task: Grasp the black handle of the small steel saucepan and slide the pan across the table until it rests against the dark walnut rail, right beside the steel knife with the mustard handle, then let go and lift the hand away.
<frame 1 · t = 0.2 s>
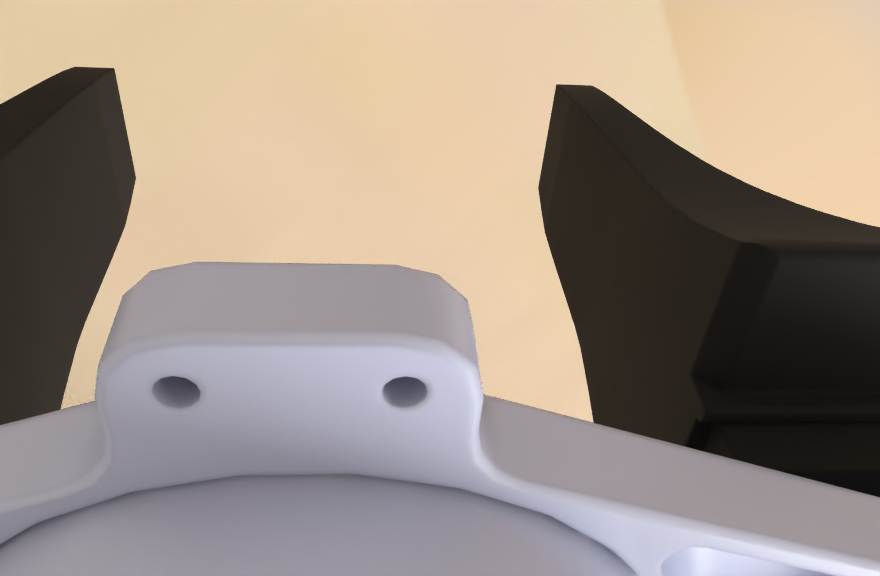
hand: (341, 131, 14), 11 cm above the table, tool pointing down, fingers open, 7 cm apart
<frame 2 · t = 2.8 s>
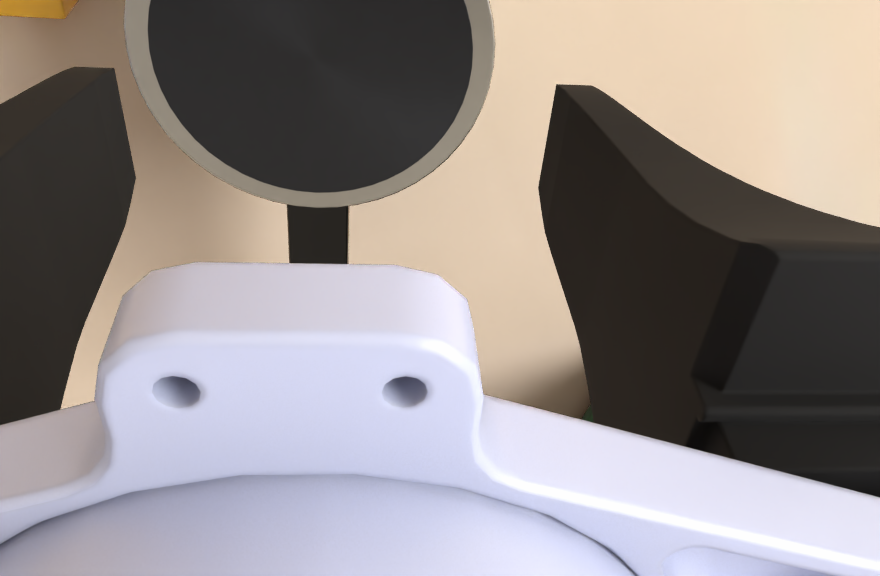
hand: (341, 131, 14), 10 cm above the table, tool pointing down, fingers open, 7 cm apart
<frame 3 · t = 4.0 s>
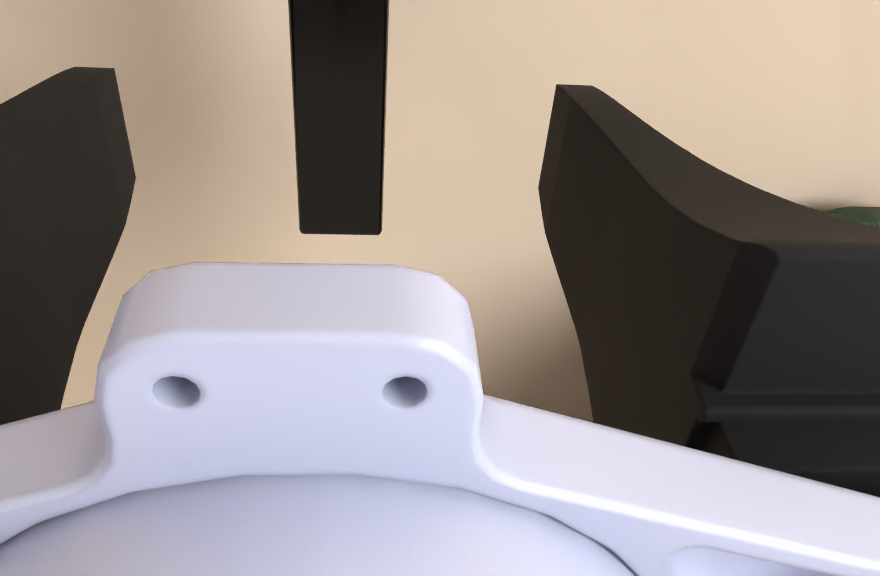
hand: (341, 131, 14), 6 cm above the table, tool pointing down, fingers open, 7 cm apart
coffee jar: (803, 318, 25), on the table
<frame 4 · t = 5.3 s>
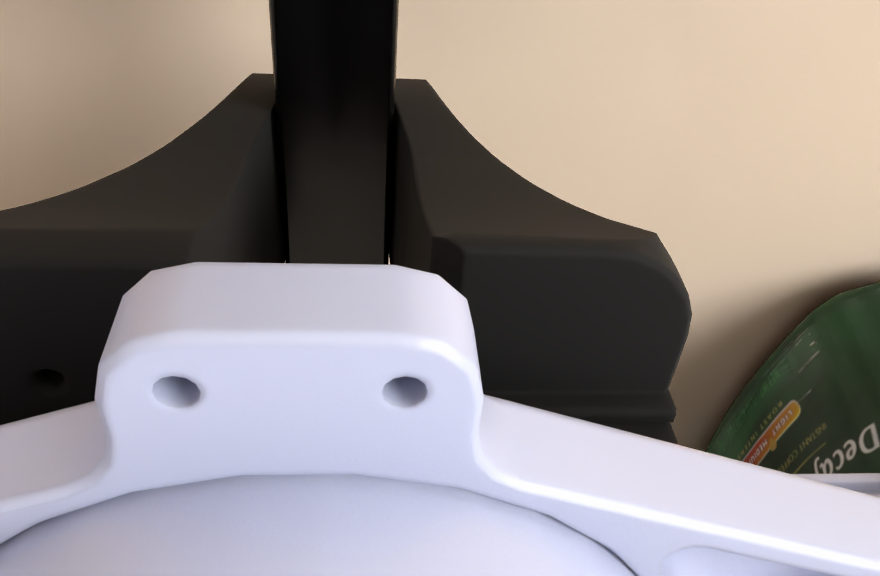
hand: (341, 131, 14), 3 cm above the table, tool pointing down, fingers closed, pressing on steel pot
coffee jar: (846, 388, 23), on the table
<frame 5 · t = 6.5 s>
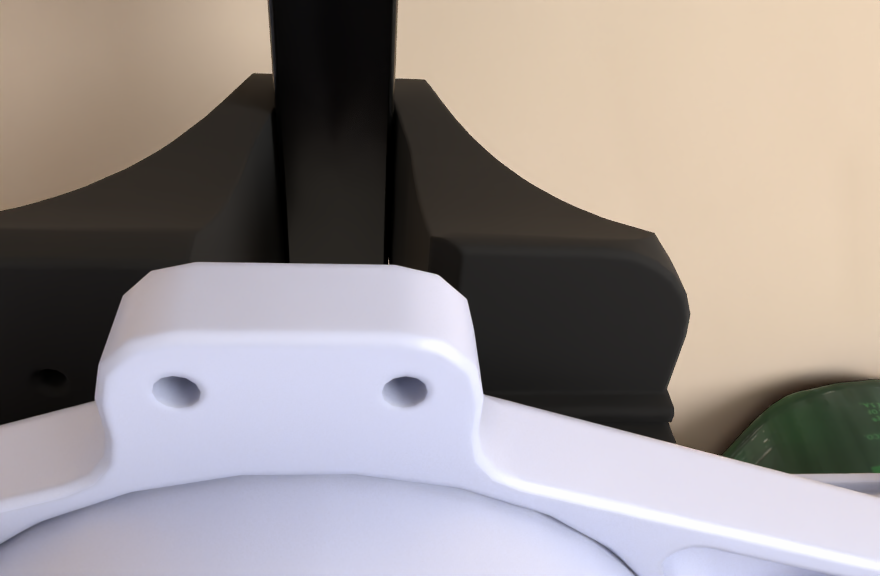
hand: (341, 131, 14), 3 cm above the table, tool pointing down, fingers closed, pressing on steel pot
coffee jar: (804, 467, 26), on the table
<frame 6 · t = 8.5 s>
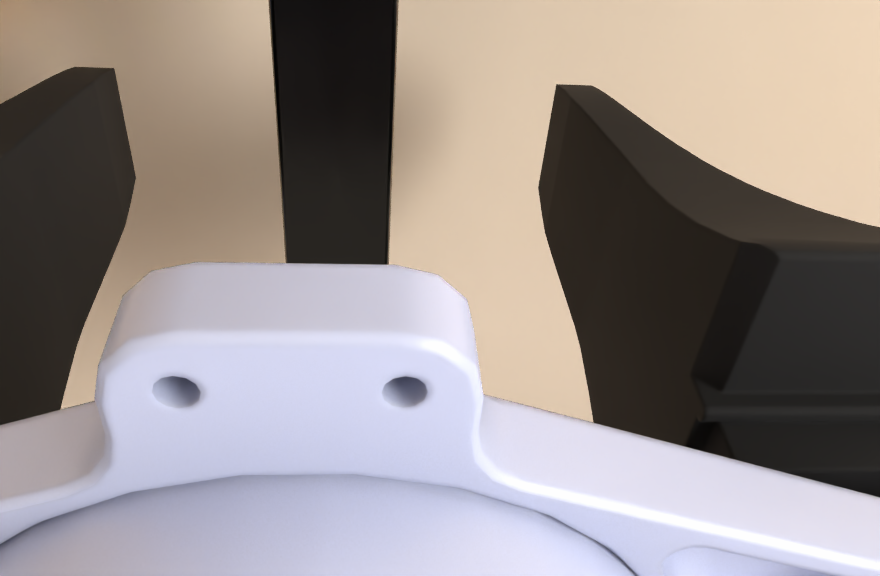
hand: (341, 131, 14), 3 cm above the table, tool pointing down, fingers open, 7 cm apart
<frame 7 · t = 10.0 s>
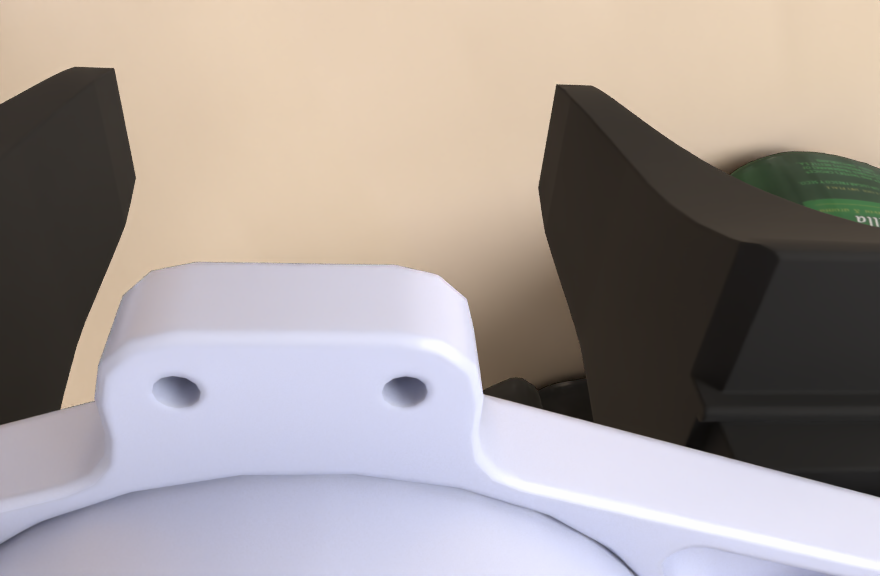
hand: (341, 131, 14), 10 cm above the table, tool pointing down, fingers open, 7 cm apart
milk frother: (488, 460, 37), on the table
coffee jar: (757, 253, 30), on the table
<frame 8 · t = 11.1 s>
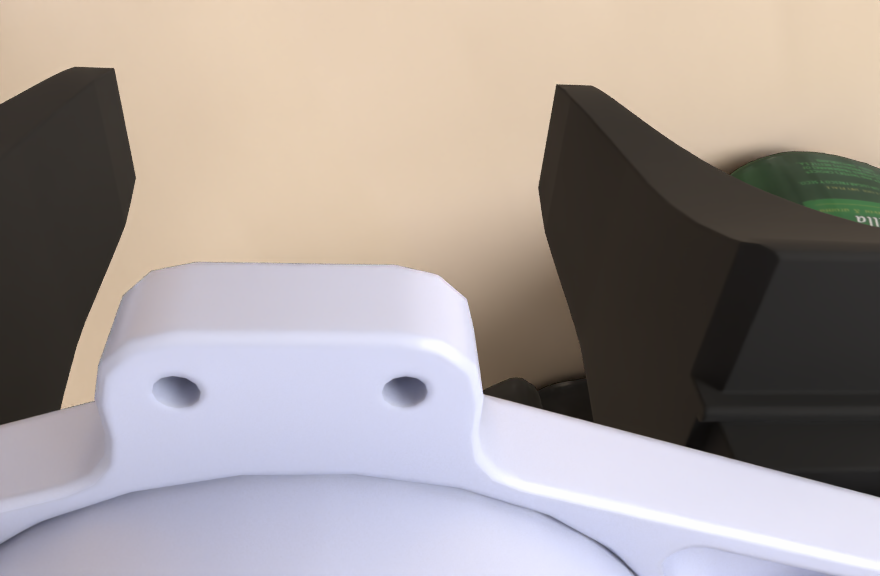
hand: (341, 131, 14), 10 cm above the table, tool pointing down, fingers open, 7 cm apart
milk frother: (488, 460, 37), on the table
coffee jar: (757, 253, 30), on the table
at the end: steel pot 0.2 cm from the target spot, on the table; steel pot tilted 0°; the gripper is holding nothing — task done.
